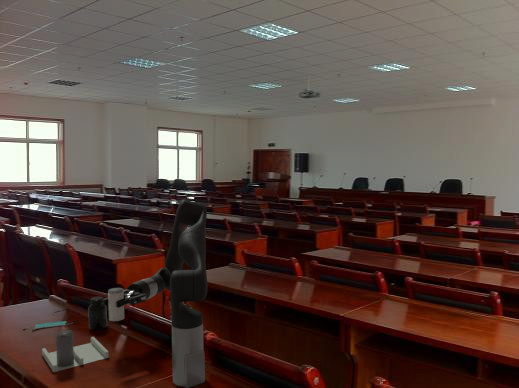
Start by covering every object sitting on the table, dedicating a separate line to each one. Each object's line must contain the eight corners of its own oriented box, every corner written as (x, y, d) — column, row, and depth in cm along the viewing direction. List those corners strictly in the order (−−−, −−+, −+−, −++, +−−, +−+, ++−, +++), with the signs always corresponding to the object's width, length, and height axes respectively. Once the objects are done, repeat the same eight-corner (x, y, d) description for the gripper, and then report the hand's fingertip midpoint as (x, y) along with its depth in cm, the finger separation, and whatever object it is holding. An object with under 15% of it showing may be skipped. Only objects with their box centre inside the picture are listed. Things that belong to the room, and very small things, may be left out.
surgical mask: (71, 307, 192) (81, 312, 185) (71, 317, 192) (82, 322, 185) (19, 320, 177) (28, 326, 170) (19, 331, 177) (29, 337, 170)
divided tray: (108, 360, 149) (108, 351, 149) (53, 375, 139) (53, 365, 139) (93, 344, 162) (93, 336, 162) (42, 357, 152) (41, 348, 152)
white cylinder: (126, 319, 154) (125, 290, 153) (111, 322, 151) (110, 292, 150) (121, 315, 158) (120, 287, 157) (106, 318, 155) (105, 289, 154)
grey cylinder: (75, 364, 144) (74, 333, 144) (59, 368, 141) (57, 337, 141) (71, 358, 148) (70, 329, 148) (55, 362, 145) (54, 332, 145)
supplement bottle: (101, 323, 183) (100, 294, 182) (110, 327, 179) (109, 297, 178) (85, 328, 178) (84, 298, 177) (94, 332, 174) (93, 301, 173)
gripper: (126, 278, 170) (93, 290, 154) (158, 282, 164) (127, 295, 149) (127, 297, 170) (94, 312, 155) (159, 302, 165) (128, 317, 149)
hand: (110, 303), depth 152 cm, fingers closed on white cylinder, 5 cm apart
